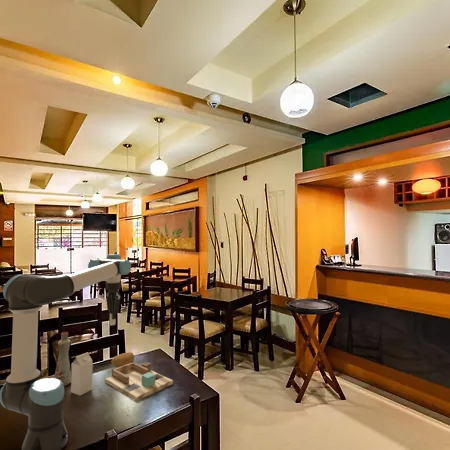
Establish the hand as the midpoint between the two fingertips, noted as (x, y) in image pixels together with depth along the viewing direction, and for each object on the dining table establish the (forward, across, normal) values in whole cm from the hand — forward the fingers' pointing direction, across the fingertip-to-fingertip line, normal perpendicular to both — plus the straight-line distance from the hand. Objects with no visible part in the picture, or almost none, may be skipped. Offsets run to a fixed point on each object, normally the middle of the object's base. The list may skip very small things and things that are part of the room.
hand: (112, 324), depth 167 cm
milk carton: (+32, +4, +14) cm, 35 cm away
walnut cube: (+30, -5, -19) cm, 36 cm away
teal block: (+30, -20, -10) cm, 37 cm away
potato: (+32, +14, -16) cm, 38 cm away
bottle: (+32, +20, +18) cm, 42 cm away
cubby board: (+32, -11, -10) cm, 35 cm away
